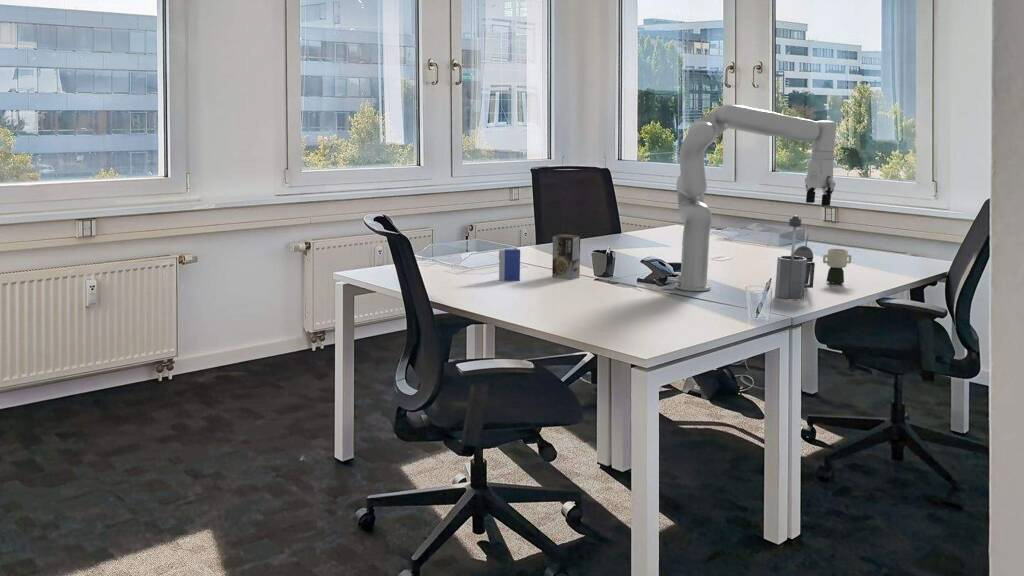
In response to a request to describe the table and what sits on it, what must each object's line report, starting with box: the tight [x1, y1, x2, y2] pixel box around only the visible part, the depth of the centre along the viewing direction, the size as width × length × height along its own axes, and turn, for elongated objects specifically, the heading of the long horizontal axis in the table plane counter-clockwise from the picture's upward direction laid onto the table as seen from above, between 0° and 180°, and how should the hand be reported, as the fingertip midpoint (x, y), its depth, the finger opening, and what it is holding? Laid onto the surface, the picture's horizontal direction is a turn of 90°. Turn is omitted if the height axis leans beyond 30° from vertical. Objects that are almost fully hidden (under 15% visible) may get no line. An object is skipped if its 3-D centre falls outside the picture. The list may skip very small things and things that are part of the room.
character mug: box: [822, 248, 852, 285], centre depth 347 cm, size 11×7×13 cm, turn 93°
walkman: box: [498, 247, 521, 282], centre depth 344 cm, size 8×3×12 cm, turn 94°
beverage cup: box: [794, 234, 814, 284], centre depth 338 cm, size 7×7×20 cm
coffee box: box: [551, 233, 581, 280], centre depth 352 cm, size 9×6×16 cm
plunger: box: [788, 215, 802, 260], centre depth 319 cm, size 6×6×20 cm
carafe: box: [774, 255, 816, 300], centre depth 322 cm, size 13×9×14 cm
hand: (817, 204), depth 329 cm, fingers open, 9 cm apart
